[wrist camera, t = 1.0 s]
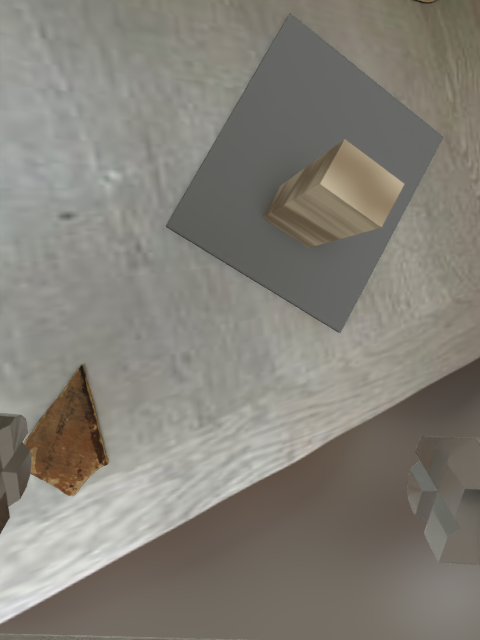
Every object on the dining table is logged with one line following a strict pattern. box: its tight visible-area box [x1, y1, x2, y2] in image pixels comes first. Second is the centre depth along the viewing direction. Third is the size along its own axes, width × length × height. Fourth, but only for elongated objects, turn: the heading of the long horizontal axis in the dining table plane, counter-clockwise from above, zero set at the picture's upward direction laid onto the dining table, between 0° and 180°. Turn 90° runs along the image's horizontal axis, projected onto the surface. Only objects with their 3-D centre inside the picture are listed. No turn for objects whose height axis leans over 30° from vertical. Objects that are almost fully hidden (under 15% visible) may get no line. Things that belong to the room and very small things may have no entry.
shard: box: [24, 365, 109, 496], centre depth 43 cm, size 11×8×2 cm
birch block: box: [263, 139, 404, 248], centre depth 41 cm, size 4×6×14 cm, turn 60°
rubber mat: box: [166, 13, 443, 333], centre depth 48 cm, size 26×22×1 cm
